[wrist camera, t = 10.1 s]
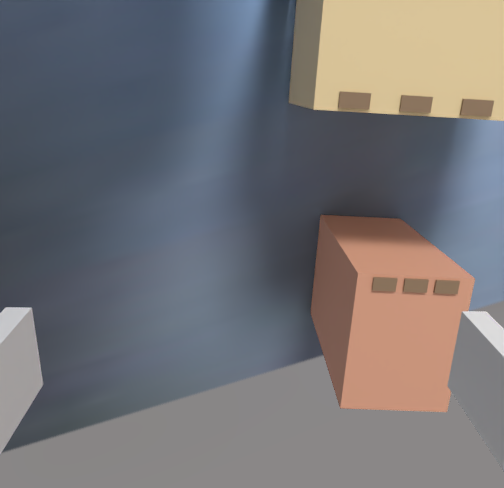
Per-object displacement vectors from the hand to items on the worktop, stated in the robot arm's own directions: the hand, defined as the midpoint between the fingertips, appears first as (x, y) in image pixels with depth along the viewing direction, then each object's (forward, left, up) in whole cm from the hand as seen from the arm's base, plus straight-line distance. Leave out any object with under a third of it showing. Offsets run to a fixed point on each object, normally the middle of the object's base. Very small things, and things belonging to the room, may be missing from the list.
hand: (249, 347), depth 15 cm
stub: (+5, +9, -21) cm, 24 cm away
